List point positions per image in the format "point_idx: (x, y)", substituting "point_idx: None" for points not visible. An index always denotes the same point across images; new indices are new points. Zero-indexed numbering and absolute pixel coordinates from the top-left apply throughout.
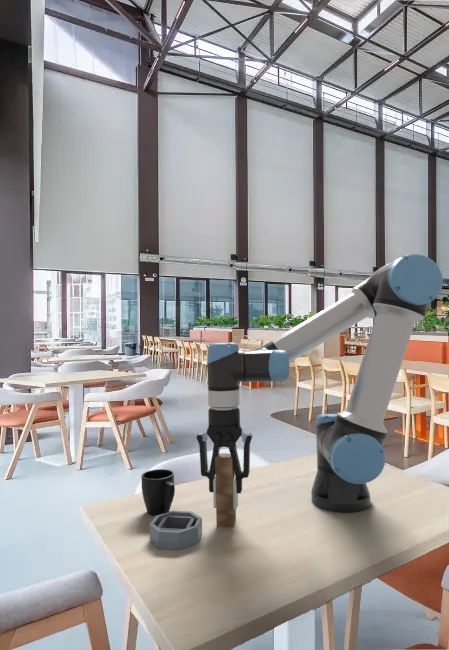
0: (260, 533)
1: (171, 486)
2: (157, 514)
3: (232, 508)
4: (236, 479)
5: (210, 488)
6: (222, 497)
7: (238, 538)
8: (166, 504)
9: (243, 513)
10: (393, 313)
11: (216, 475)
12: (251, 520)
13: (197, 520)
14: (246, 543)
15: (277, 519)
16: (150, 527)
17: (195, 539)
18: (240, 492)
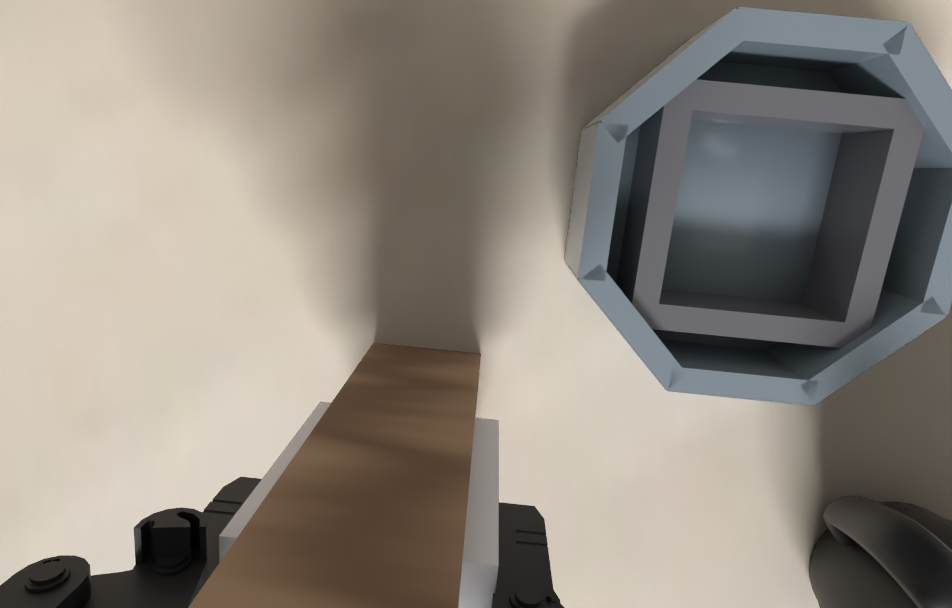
0: (201, 273)
1: (950, 576)
2: (887, 506)
3: (346, 389)
4: (199, 536)
5: (530, 526)
6: (411, 433)
7: (329, 203)
8: (877, 503)
9: None
10: None
11: (445, 578)
12: (273, 442)
13: (607, 233)
14: (273, 138)
15: (119, 456)
16: None
17: (599, 115)
18: (238, 482)
